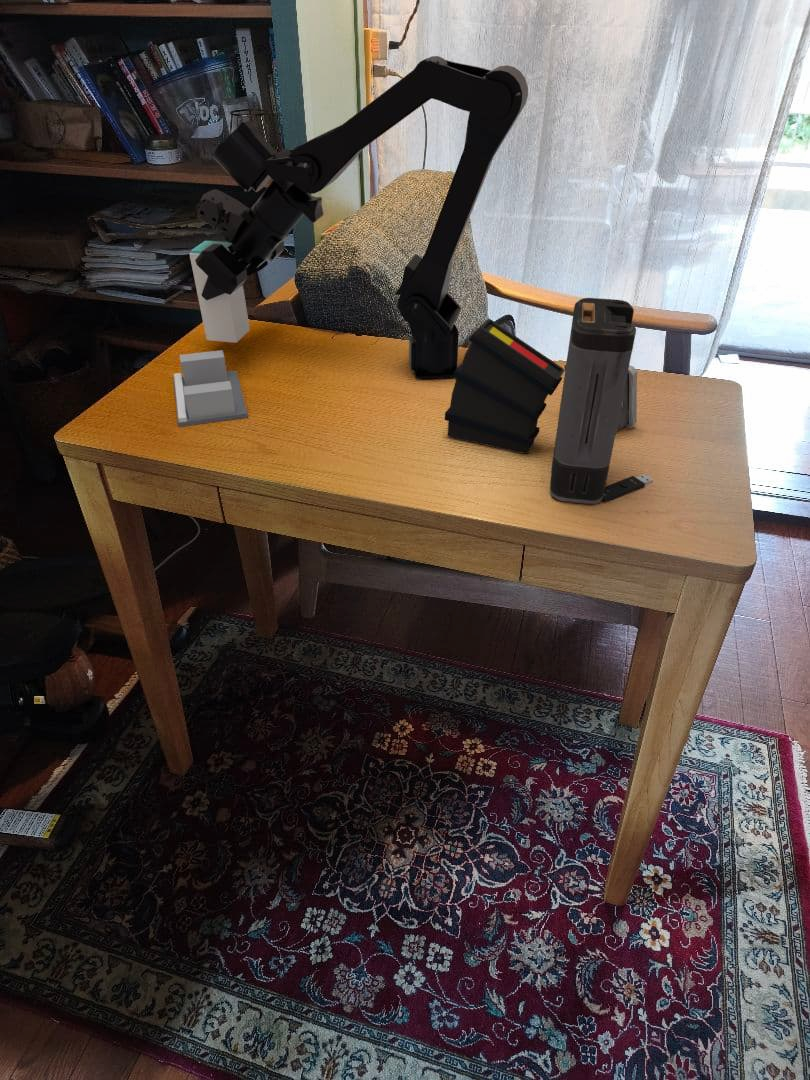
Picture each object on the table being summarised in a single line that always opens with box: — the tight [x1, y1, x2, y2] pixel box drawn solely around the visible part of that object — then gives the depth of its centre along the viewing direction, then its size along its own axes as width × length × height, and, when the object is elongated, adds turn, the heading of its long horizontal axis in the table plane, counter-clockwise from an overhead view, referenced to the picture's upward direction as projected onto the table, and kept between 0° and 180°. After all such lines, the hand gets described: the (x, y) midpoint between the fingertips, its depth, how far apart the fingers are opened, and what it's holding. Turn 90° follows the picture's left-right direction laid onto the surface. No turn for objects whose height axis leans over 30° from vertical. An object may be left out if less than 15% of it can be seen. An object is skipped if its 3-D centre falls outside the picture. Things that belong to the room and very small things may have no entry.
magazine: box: [444, 318, 565, 454], centre depth 89 cm, size 4×13×15 cm, turn 66°
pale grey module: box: [189, 240, 251, 344], centre depth 110 cm, size 5×5×13 cm
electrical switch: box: [563, 364, 638, 432], centre depth 94 cm, size 9×5×9 cm, turn 38°
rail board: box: [173, 349, 249, 428], centre depth 100 cm, size 9×14×4 cm, turn 16°
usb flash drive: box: [600, 473, 654, 504], centre depth 84 cm, size 8×2×1 cm, turn 121°
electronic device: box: [549, 297, 637, 505], centre depth 79 cm, size 9×6×20 cm, turn 168°
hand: (212, 291), depth 110 cm, fingers closed on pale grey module, 5 cm apart
